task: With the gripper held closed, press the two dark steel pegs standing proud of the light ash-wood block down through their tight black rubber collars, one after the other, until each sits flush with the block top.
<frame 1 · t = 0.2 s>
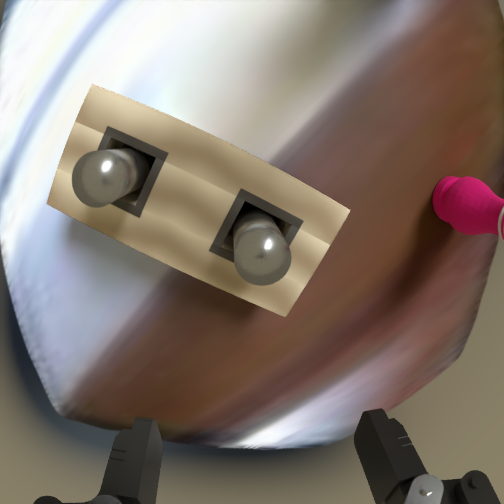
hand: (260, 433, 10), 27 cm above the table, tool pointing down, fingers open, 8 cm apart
pepper mill: (448, 198, 36), on the table
peg 2: (258, 242, 26), point 10 cm above the table, slide at 6.0 cm
collar block: (197, 189, 34), on the table
peg 1: (114, 173, 23), point 10 cm above the table, slide at 6.0 cm
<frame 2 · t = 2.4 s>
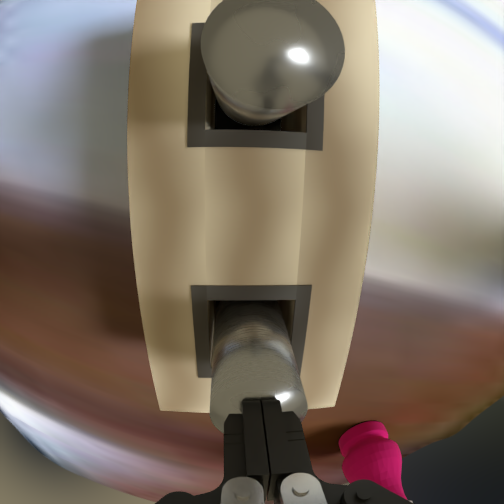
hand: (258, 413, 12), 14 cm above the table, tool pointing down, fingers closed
pepper mill: (361, 434, 33), on the table
peg 2: (252, 356, 15), point 10 cm above the table, slide at 5.8 cm, touching gripper
collar block: (246, 193, 22), on the table
peg 1: (261, 72, 11), point 10 cm above the table, slide at 6.0 cm
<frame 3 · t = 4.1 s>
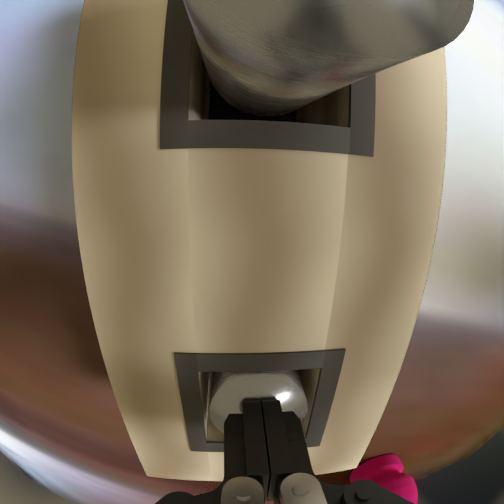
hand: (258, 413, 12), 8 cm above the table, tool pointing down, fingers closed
pepper mill: (373, 467, 28), on the table
peg 2: (252, 357, 15), point 4 cm above the table, slide at 0.2 cm, touching gripper
collar block: (250, 209, 17), on the table
peg 1: (285, 20, 5), point 10 cm above the table, slide at 6.0 cm
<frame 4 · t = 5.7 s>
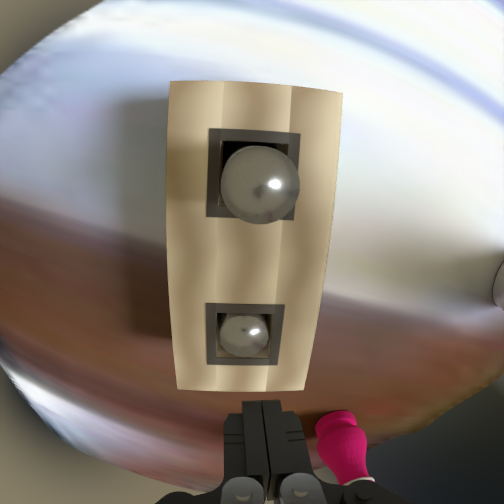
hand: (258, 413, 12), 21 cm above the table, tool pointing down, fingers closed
pepper mill: (334, 421, 42), on the table
peg 2: (242, 314, 29), point 4 cm above the table, slide at 0.2 cm
collar block: (243, 233, 31), on the table
peg 1: (255, 177, 19), point 10 cm above the table, slide at 6.0 cm
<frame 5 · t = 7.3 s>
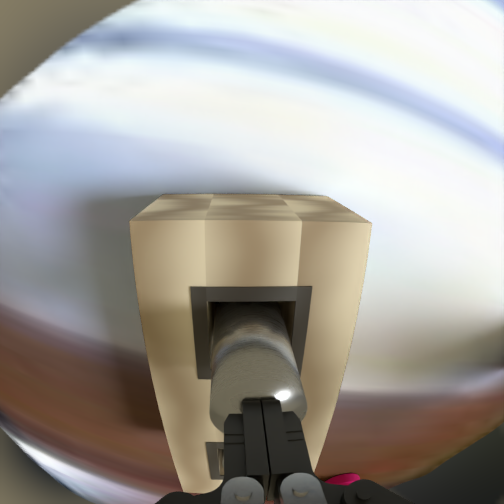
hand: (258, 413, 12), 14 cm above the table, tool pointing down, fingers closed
pepper mill: (339, 481, 37), on the table
peg 2: (244, 429, 25), point 4 cm above the table, slide at 0.2 cm
collar block: (243, 346, 27), on the table
peg 1: (252, 356, 15), point 10 cm above the table, slide at 5.7 cm, touching gripper
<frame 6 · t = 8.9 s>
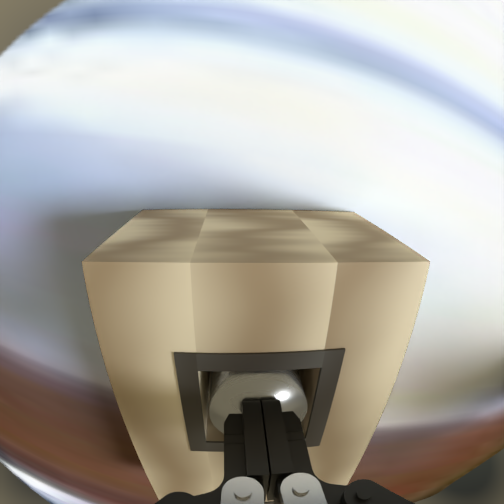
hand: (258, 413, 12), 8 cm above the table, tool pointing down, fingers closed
collar block: (246, 388, 21), on the table
peg 1: (252, 356, 15), point 4 cm above the table, slide at 0.2 cm, touching gripper
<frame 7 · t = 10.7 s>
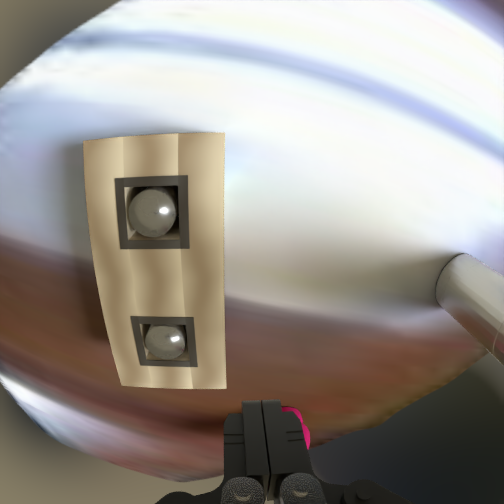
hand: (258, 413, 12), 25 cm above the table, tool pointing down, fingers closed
peg 2: (169, 323, 33), point 4 cm above the table, slide at 0.2 cm
collar block: (170, 253, 35), on the table
peg 1: (159, 204, 29), point 4 cm above the table, slide at 0.2 cm
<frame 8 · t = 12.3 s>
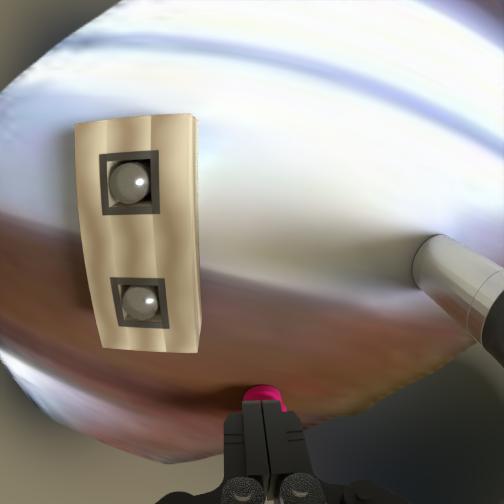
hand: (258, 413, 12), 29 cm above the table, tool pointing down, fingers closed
pepper mill: (261, 396, 49), on the table
peg 2: (147, 289, 36), point 4 cm above the table, slide at 0.2 cm
collar block: (151, 226, 38), on the table
peg 1: (139, 179, 32), point 4 cm above the table, slide at 0.2 cm
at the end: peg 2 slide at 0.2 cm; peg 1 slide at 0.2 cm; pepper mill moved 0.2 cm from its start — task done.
